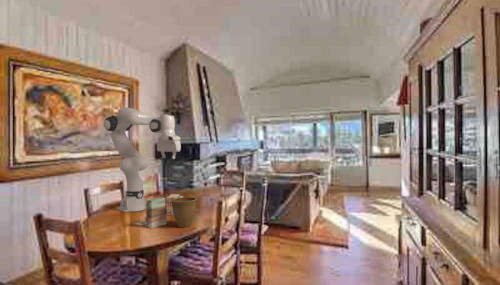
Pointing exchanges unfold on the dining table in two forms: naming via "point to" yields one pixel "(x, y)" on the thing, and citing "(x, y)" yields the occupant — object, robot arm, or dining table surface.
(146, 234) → the dining table surface
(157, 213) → the brick walnut
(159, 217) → the base brick
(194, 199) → the plant pot
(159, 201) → the brick sage
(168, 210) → the stack of blocks
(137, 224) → the page
